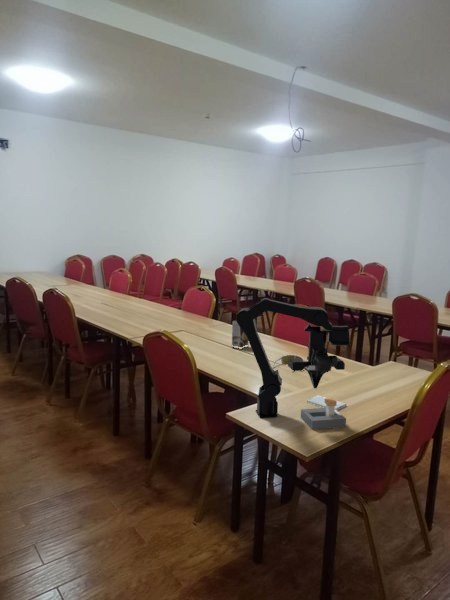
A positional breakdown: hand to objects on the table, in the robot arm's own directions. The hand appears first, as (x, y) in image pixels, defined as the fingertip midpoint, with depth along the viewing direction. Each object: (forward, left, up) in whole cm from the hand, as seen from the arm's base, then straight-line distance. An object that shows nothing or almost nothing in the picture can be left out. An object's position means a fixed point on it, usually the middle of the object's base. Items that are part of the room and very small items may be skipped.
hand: (314, 388), depth 151 cm
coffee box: (-2, +104, -11) cm, 104 cm away
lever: (+4, -4, -9) cm, 11 cm away
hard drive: (+10, +11, -12) cm, 19 cm away
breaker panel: (+1, -4, -11) cm, 12 cm away
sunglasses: (+13, +61, -11) cm, 63 cm away
